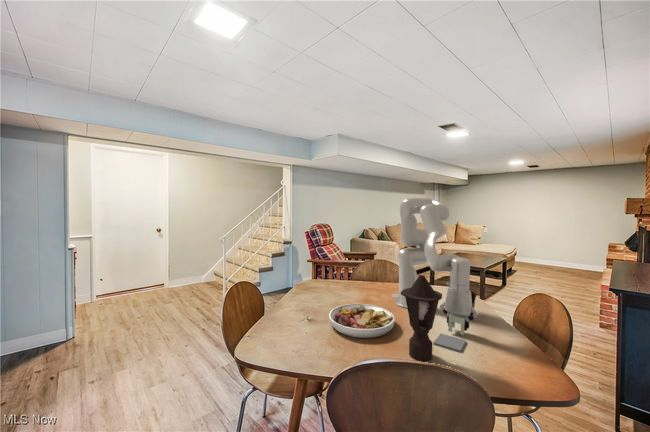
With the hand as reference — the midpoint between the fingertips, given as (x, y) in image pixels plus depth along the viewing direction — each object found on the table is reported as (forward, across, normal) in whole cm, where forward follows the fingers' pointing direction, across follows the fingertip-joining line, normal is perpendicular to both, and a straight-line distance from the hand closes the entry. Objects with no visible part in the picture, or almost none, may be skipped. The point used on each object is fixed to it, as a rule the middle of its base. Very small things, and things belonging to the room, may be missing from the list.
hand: (457, 326), depth 121 cm
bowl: (+4, -37, -18) cm, 42 cm away
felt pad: (+3, 0, -12) cm, 12 cm away
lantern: (+3, -7, -28) cm, 29 cm away
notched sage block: (+2, 0, 0) cm, 2 cm away
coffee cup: (+3, 0, +20) cm, 21 cm away
